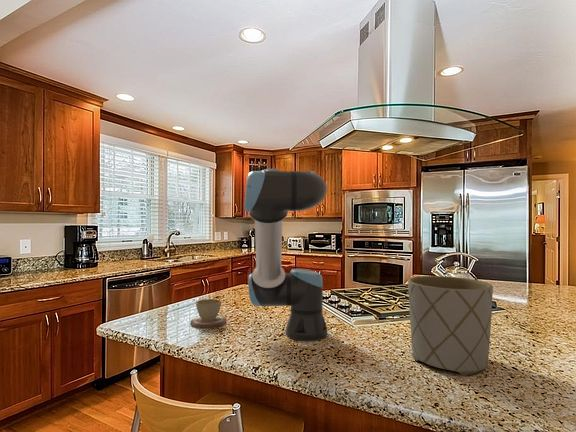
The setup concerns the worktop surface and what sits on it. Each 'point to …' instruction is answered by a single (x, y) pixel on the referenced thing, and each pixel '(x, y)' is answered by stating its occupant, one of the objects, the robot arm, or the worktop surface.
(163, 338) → the worktop surface
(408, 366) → the worktop surface
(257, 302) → the robot arm
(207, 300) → the flower pot
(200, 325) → the disc
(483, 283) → the planter
